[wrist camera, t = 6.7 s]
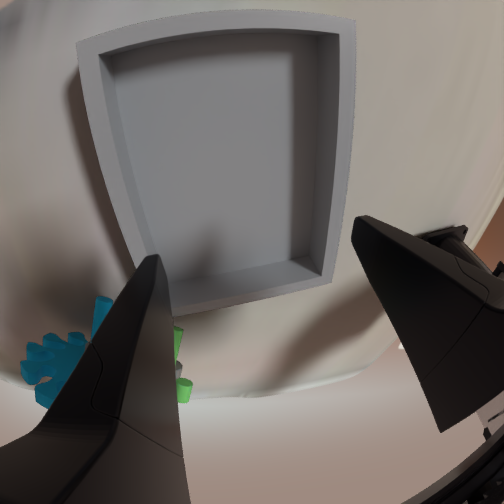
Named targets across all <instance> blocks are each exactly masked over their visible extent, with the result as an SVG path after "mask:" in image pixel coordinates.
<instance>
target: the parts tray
mask: <svg viewBox="0 0 504 504" xmlns="http://www.w3.org/2000/svg"><path fill="white" fill-rule="evenodd" d="M76 49H77V57H78V65H79V72H80V78H81V84H82V90H83V95H84V101H85V106H86V111H87V115H88V120H89V124H90V129H91V133H92V137H93V141H94V145H95V149H96V153H97V156H98V160H99V164H100V167H101V171H102V174H103V177H104V181H105V184H106V187H107V190H108V194H109V197H110V200H111V203H112V206H113V209H114V212H115V215H116V217H117V220H118V223H119V226H120V229H121V231H122V234H123V237H124V239H125V242H126V245H127V247H128V250H129V252H130V255H131V257H132V260H133V262H134V265H135V267H136V269H137V267H138V266H139V265H140V263H141V262H142V260H143V259H144V258H145V256H148V255H153V254H159V255H160V257H161V260H162V263H163V266H164V269H165V272H166V275H167V279H168V286H169V295H170V302H171V310H172V317H178V316H183V315H189V314H194V313H199V312H204V311H209V310H214V309H219V308H224V307H229V306H234V305H239V304H243V303H248V302H253V301H257V300H262V299H266V298H271V297H275V296H279V295H284V294H288V293H292V292H296V291H300V290H305V289H309V288H313V287H317V286H321V285H325V284H329V283H332V278H333V273H334V268H335V263H336V257H337V252H338V246H339V240H340V234H341V228H342V222H343V215H344V208H345V201H346V194H347V186H348V178H349V169H350V159H351V149H352V138H353V125H354V110H355V89H356V20H354V19H349V18H343V17H337V16H331V15H325V14H317V13H309V12H299V11H285V10H223V11H210V12H200V13H191V14H184V15H177V16H171V17H165V18H160V19H155V20H150V21H146V22H141V23H137V24H133V25H129V26H125V27H122V28H118V29H115V30H111V31H108V32H105V33H102V34H99V35H96V36H93V37H90V38H87V39H85V40H82V41H79V42H77V43H76Z"/></svg>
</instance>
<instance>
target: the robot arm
mask: <svg viewBox="0 0 504 504" xmlns="http://www.w3.org/2000/svg"><path fill="white" fill-rule="evenodd" d="M467 231H468V228H467V227H466V226H465V225H462V226H458V227H454V228H450V229H446V230H442V231H438V232H434V233H430V234H427V235H425V236H424V238H423V239H422V240H421V239H419V238H417V237H415V236H413V235H411V234H409V233H406V232H404V231H402V230H400V229H398V228H395V227H393V226H391V225H389V224H386V223H384V222H382V221H380V220H377V219H375V218H373V217H370V216H368V215H364V216H358V217H356V218H355V220H354V224H353V230H352V235H351V242H352V245H353V247H354V249H355V251H356V253H357V256H358V258H359V260H360V262H361V264H362V267H363V269H364V271H365V274H366V276H367V278H368V280H369V282H370V284H371V286H372V287H373V289H374V291H375V293H376V295H377V296H378V298H379V300H380V302H381V304H382V306H383V308H384V309H385V311H386V313H387V315H388V317H389V319H390V321H391V323H392V325H393V327H394V329H395V331H396V333H397V335H398V337H399V339H400V341H401V343H402V345H403V347H404V349H405V351H406V353H407V355H408V357H409V360H410V362H411V364H412V366H413V368H414V371H415V373H416V375H417V377H418V380H419V382H420V384H421V387H422V389H423V391H424V394H425V396H426V398H427V401H428V403H429V406H430V408H431V411H432V414H433V416H434V419H435V421H436V424H437V427H438V429H439V431H440V433H442V432H444V431H445V430H447V429H449V428H450V427H452V426H454V425H455V424H457V423H459V422H460V421H462V420H463V419H465V418H467V417H468V416H470V415H471V414H473V413H474V412H477V415H478V417H479V419H480V420H481V422H482V425H483V427H484V433H483V435H484V437H485V439H486V442H485V443H483V444H482V445H481V446H480V447H479V448H478V449H477V450H476V451H475V452H473V453H472V454H471V455H470V456H469V457H468V458H466V459H465V460H464V461H463V462H462V463H460V464H459V465H458V466H457V467H455V468H454V469H453V470H451V471H450V472H449V473H447V474H446V475H445V476H443V477H442V478H441V479H439V480H438V481H436V482H435V483H433V484H432V485H431V486H429V487H428V488H426V489H425V490H423V491H421V492H420V493H418V494H417V495H415V496H414V497H412V498H410V499H408V500H407V501H405V502H403V503H402V504H504V264H503V263H502V262H501V261H500V262H499V263H498V264H497V267H496V269H495V270H494V272H492V271H491V270H490V269H489V268H488V267H487V266H486V265H485V264H484V262H483V261H482V260H481V259H480V258H479V257H478V256H477V255H476V254H475V253H474V252H473V251H472V250H471V249H470V248H469V247H468V246H467V245H466V244H465V243H464V242H463V241H464V238H465V236H466V233H467ZM91 342H92V343H89V345H88V346H87V348H86V350H85V351H84V353H83V355H82V357H81V358H80V360H79V362H78V363H77V365H76V367H75V368H74V370H73V372H72V373H71V375H70V376H69V378H68V379H67V381H66V383H65V384H64V386H63V387H62V389H61V390H60V392H59V393H58V395H57V396H56V398H55V400H54V401H53V403H52V404H51V406H50V407H49V409H48V411H47V412H46V414H45V416H44V417H43V419H42V420H41V422H40V423H39V424H38V425H37V426H36V427H35V428H34V429H33V430H32V431H31V432H29V433H28V434H26V435H24V436H22V437H20V438H19V439H16V440H14V441H12V442H10V443H8V444H6V445H4V446H2V447H0V504H191V502H190V496H189V490H188V484H187V478H186V471H185V464H184V458H183V450H182V442H181V433H180V424H179V413H178V401H177V388H176V372H175V351H174V326H173V317H172V310H171V302H170V295H169V286H168V279H167V275H166V272H165V269H164V266H163V263H162V260H161V257H160V255H159V254H153V255H148V256H145V258H144V259H143V260H142V262H141V263H140V265H139V266H138V267H137V269H136V270H135V272H134V273H133V275H132V276H131V278H130V279H129V281H128V282H127V284H126V285H125V287H124V288H123V290H122V291H121V293H120V294H119V296H118V297H117V299H116V301H115V302H114V304H113V305H112V307H111V308H110V310H109V312H108V313H107V315H106V316H105V318H104V320H103V321H102V323H101V324H100V326H99V328H98V329H97V331H96V333H95V334H94V336H93V338H92V340H91ZM465 501H466V502H465Z"/></svg>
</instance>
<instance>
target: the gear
mask: <svg viewBox="0 0 504 504" xmlns="http://www.w3.org/2000/svg"><path fill="white" fill-rule="evenodd" d="M112 305H113V300H112V299H110V298H107V297H103V296H98V297H96V303H95V310H94V317H93V324H92V333H91V340H92V338H93V336H94V334H95V333H96V331H97V329H98V328H99V326H100V324H101V323H102V321H103V320H104V318H105V316H106V315H107V313H108V312H109V310H110V308H111V307H112ZM182 333H183V329H181V328H179V327H175V326H174V351H175V372H176V388H177V401H178V402H179V403H187V402H188V401H189V398H190V394H191V390H192V386H193V383H192V382H191V381H190V380H188V379H185V378H180V376H181V371H182V364H181V363H180V362H179V361H177V355H178V351H179V346H180V342H181V338H182ZM89 343H92V342H88V341H87V340H86V339H85V337H84V334H82V333H80V332H71V333H68V343H67V342H65V341H63V340H62V339H60V338H59V337H58V336H57V335H55V334H53V333H49V334H46V335H45V336H44V337H43V346H41V345H38V344H36V343H33V342H28V344H27V360H24V361H21V362H20V364H21V374H22V377H23V379H24V380H25V381H26V383H28V384H29V385H35V384H37V383H39V381H40V380H41V378H42V377H44V376H49V377H52V379H51V380H49V381H48V382H45V383H41V384H38V385H36V386H35V398H36V402H37V403H39V404H40V405H42V406H43V407H45V408H47V409H49V407H50V406H51V404H52V403H53V401H54V400H55V398H56V396H57V395H58V393H59V392H60V390H61V389H62V387H63V386H64V384H65V383H66V381H67V379H68V378H69V376H70V375H71V373H72V372H73V370H74V368H75V367H76V365H77V363H78V362H79V360H80V358H81V357H82V355H83V353H84V351H85V350H86V348H87V346H88V345H89Z"/></svg>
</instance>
